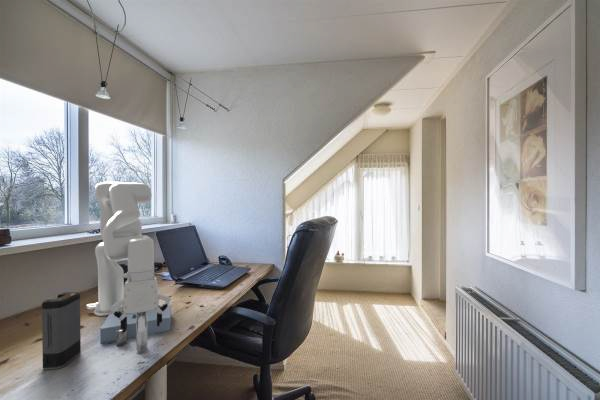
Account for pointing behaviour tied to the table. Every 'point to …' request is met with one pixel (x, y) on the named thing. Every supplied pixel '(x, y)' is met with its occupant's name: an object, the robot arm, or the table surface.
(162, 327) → the bore block
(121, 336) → the short pin
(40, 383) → the table surface
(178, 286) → the table surface
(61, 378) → the table surface
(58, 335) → the electronic device
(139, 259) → the robot arm
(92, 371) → the table surface
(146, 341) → the long pin
